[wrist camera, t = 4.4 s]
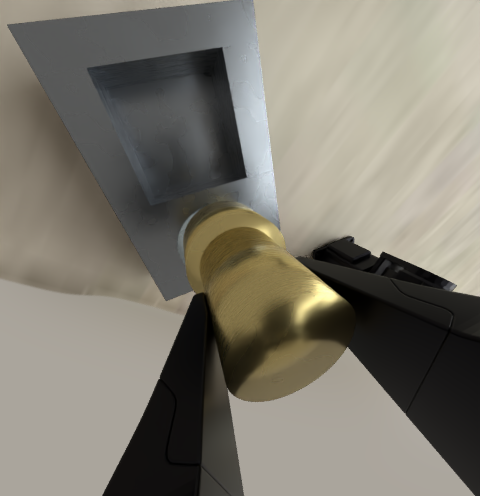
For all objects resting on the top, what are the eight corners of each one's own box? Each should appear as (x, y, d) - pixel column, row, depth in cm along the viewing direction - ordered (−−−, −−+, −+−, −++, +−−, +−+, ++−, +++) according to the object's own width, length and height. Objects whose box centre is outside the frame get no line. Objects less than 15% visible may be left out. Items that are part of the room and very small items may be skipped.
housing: (261, 235, 22) (284, 256, 17) (166, 269, 20) (166, 302, 15) (227, 46, 14) (254, -5, 10) (64, 71, 12) (3, 21, 8)
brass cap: (267, 261, 14) (362, 365, 7) (198, 286, 13) (228, 436, 6) (256, 190, 11) (387, 241, 4) (169, 215, 10) (162, 331, 3)
